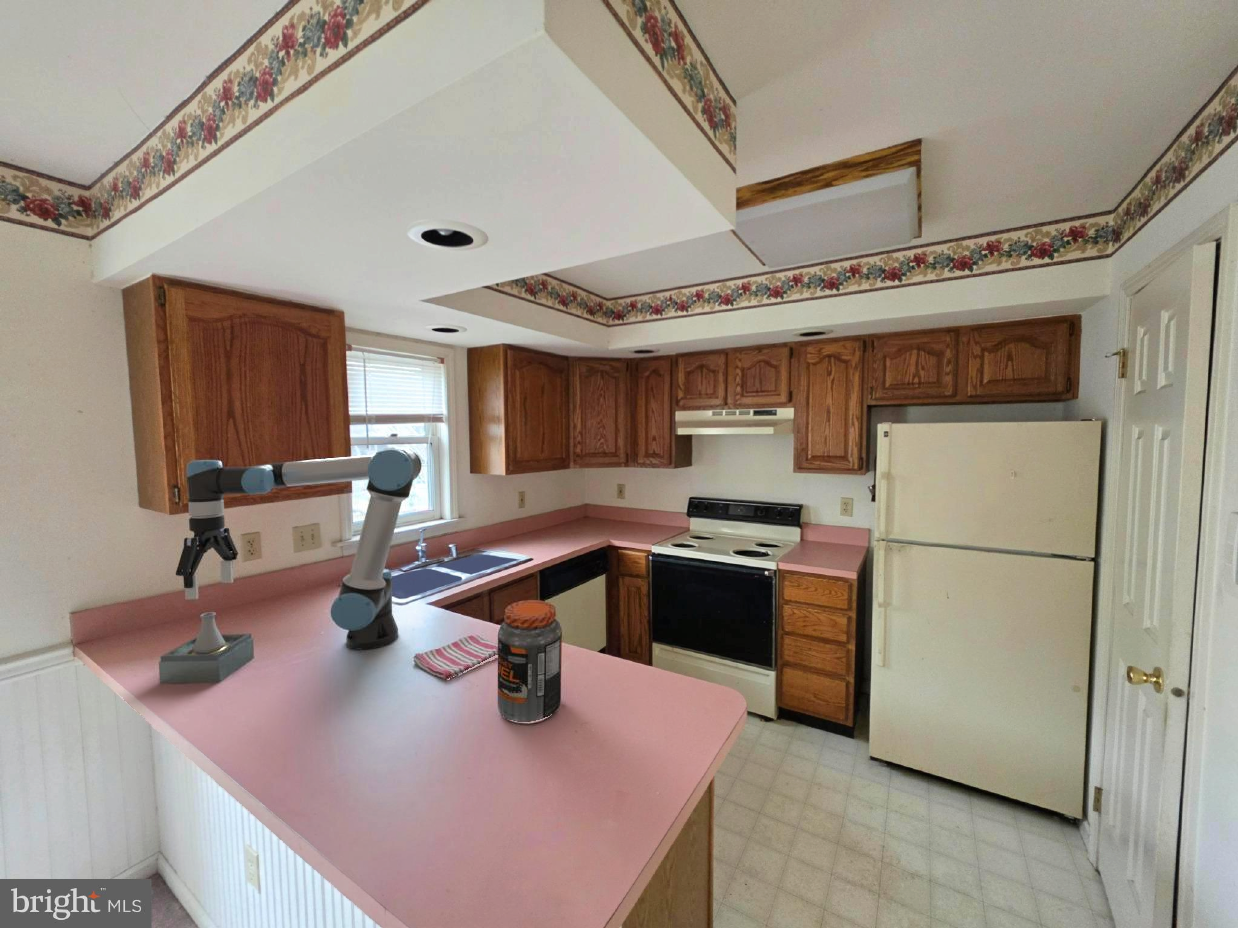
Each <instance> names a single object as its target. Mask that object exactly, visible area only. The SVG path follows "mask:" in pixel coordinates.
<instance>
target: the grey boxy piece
mask: <svg viewBox="0 0 1238 928" xmlns="http://www.w3.org/2000/svg"><path fill="white" fill-rule="evenodd" d="M220 634H221V636H222V637H223V639H224V641H225V642H226V644H227V645H226V646H224V647H223V648H221V649H219V650H216V651H213V652H210V653H198V654H196V653H194V652H192V648H193V646H194V644H195V641H196V639H197V637H198V635H197V636H195V637H193V638H192V639H189V640H187V641H186V642H184V643H183V644H181V645H178V646H177V647H175V648H173V649H172V650H170V651H168V652H166V653H164V654H163V655H161V656H160V661H158V673H159V685H160V684H166V685H167V684H195V683H196V684H200V683H201V684H202V683H203V684H204V683H207V684H208V683H221V682H222V681H224V680H225V679H226V678H228V677H229V676H231V675H233V673H235V672H236V671H238V670H239V669H240V668H242V667H244V665H246V664H248V663H249V662H250V661H252V660H253V659H254V658H255V652H254V651H255V650H254V649H255V648H254V647H255V646H254V638H253V637H252V633H249V632H248V633H220Z"/></svg>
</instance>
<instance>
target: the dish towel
mask: <svg viewBox="0 0 1238 928" xmlns="http://www.w3.org/2000/svg"><path fill="white" fill-rule="evenodd" d="M495 655H498V643H495V642H493V641H490V640H488V639H485V638H484V637H481V636H480V635H478V634H471V635H467V636H465V637H461V638H460V639H457V640H455V641H454V642H451V643H449V644H446V645H443V646H440V647H438V648H436V649H435V648H433V649H430V650H427V651H423V652H422V653H419V652H417V653H415V655H413V663H414V664H415V665H416V666H418V667H419V668H421V669H422V668H423V669H422V670H423V671H425V670H426V672H428V673H430V674H432V675H433V676H436V675H437V677H439V678H442V677H443V679H444V678H446V679H449V678H451V677H453V676H457V675H459V674H461V673H463V672H464V671H466V670H468V669H469V668H472V667H474V666H475V665H477V664H480V663H481V662H483V661H485V660H487V659H489V658H491V657H493V656H495ZM457 677H458V676H457ZM446 679H445V680H446Z"/></svg>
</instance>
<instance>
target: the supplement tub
mask: <svg viewBox="0 0 1238 928" xmlns="http://www.w3.org/2000/svg"><path fill="white" fill-rule="evenodd" d="M556 617H557V613H556V606H555V605H554V604H553V603H552V602H548V601H544V600H539V599H538V600H537V599H528V600H520V601H516V602H514V603H511V604H509V605H508V606H507V607H506V608H505V610H504V617H503V618H504V619H503V622H502V624H500V626H499V628H498V632H497V644H498V658H497V709H498V712H499V714H500V716H502V717H503V716H504V717H505V718H507V719H509V720H513V721H517V722H531V721H536V720H540V719H543V718H545V717H548V716H550V715H551V714H553V713H554V712H555V711H556V710H557V709H559V708H560V705H561V702H562V646H563V645H562V644H563V631H562V630H563V629H562V626H561V623H560V622H559V621H558V620H557V618H556ZM557 711H558V710H557ZM555 713H556V712H555ZM555 713H554V714H555ZM554 714H553V715H554ZM504 717H503V718H504ZM505 718H504V719H505Z"/></svg>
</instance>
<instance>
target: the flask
mask: <svg viewBox="0 0 1238 928" xmlns="http://www.w3.org/2000/svg"><path fill="white" fill-rule="evenodd" d="M216 614H217V613H216V612H214V611H211V612H209V611H208V612H205V613H204V612H203V613H202V614H200V615H199V617H200V618H201V624H200V630H199V632H198V633H197V636H198V637H197V636H196V637H197V639H196V641H195V644H194V646H193V648H192V652H194V653H196V654H198V653H210V652H213V651H216V650H219V649H221V648H223V647H224V646H226V645H227V644H226V642H225V641H224V639H223V637H222V636H221V634H222V633H221V632H220V630H219V629H218V627H217V623H216V620H215V616H216Z"/></svg>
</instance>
